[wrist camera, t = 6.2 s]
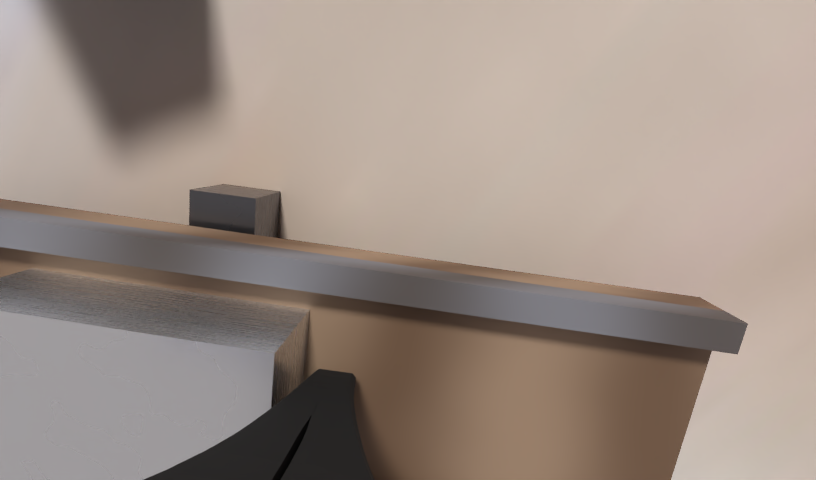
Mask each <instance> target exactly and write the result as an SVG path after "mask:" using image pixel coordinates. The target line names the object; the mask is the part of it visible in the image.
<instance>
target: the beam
mask: <svg viewBox="0 0 816 480" xmlns="http://www.w3.org/2000/svg"><path fill="white" fill-rule="evenodd" d="M32 268H35V269H42V270H49V271H55V272H62V273H69V274H75V275H82V276H89V277H95V278H102V279H109V280H115V281H122V282H129V283H135V284H142V285H149V286H155V287H162V288H169V289H175V290H182V291H189V292H195V293H202V294H209V295H215V296H222V297H229V298H235V299H242V300H249V301H255V302H262V303H269V304H275V305H282V306H289V307H295V308H302V309H309V310H310V313H309V325H308V337H307V349H306V361H305V373H304V381H305V380H306V379H307V378H308V377H309V376H310V375H312V374H313V373H314V372H315V371H316V370H318V369H325V370H332V371H340V372H347V373H353V375H354V376H355V377H356V382H355V390H354V407H355V414H356V420H357V425H358V430H359V434H360V438H361V442H362V446H363V449H364V452H365V455H366V458H367V461H368V464H369V467H370V469H371V472H372V475H373V477H374V479H375V480H671V477H672V474H673V471H674V468H675V464H676V461H677V458H678V455H679V452H680V449H681V446H682V442H683V439H684V436H685V433H686V430H687V427H688V424H689V420H690V417H691V414H692V411H693V408H694V405H695V402H696V398H697V395H698V392H699V389H700V386H701V383H702V380H703V376H704V373H705V370H706V367H707V364H708V361H709V358H710V354H711V351H719V352H726V353H732V354H738V352H739V349H740V346H741V343H742V340H743V337H744V334H745V331H746V328H747V325H748V324H747V323H746V322H744V321H742V320H740V319H738V318H736V317H735V316H733V315H731V314H729V313H727V312H725V311H724V310H722V309H720V308H718V307H716V306H714V305H713V304H711V303H709V302H707V301H705V300H703V299H702V298H700V297H693V296H686V295H679V294H672V293H665V292H657V291H650V290H643V289H636V288H629V287H622V286H615V285H608V284H601V283H594V282H586V281H579V280H572V279H565V278H558V277H551V276H544V275H537V274H530V273H523V272H515V271H508V270H501V269H494V268H487V267H480V266H473V265H466V264H459V263H452V262H444V261H437V260H430V259H423V258H416V257H409V256H402V255H395V254H388V253H380V252H373V251H366V250H359V249H352V248H345V247H338V246H331V245H324V244H317V243H309V242H302V241H295V240H288V239H281V238H274V237H267V236H260V235H253V234H246V233H238V232H231V231H224V230H217V229H210V228H203V227H196V226H189V225H182V224H175V223H167V222H160V221H153V220H146V219H139V218H132V217H125V216H118V215H111V214H104V213H96V212H89V211H82V210H75V209H68V208H61V207H54V206H47V205H40V204H33V203H25V202H18V201H11V200H4V199H0V277H4V276H7V275H11V274H14V273H18V272H21V271H25V270H28V269H32Z"/></svg>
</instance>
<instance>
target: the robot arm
mask: <svg viewBox="0 0 816 480" xmlns="http://www.w3.org/2000/svg"><path fill="white" fill-rule="evenodd" d="M355 382H356V377H355V376H354V375H353V373H347V372H340V371H332V370H325V369H318V370H316V371H315V372H314V373H313V374H312V375H310V376H309V377H308V378H307V379H306V380H305V381H304V382H302V383H301V384H300V385H299V386H298V387H297V388H295V389H294V390H293V391H292V392H291V393H290V394H288V395H287V396H286V397H285V398H283V399H282V400H281V401H280V402H278V403H277V404H276V405H275V406H273V407H272V408H271V409H269V410H268V411H267V412H265V413H264V414H263V415H261V416H260V417H258V418H257V419H256V420H254V421H253V422H251V423H250V424H249V425H247V426H246V427H244V428H243V429H241V430H240V431H238V432H237V433H235V434H233V435H232V436H230V437H228V438H227V439H225V440H223V441H222V442H220V443H218V444H216V445H215V446H213V447H211V448H209V449H207V450H206V451H204V452H202V453H200V454H197V455H195V456H193V457H191V458H189V459H187V460H185V461H183V462H181V463H179V464H177V465H175V466H173V467H171V468H169V469H167V470H165V471H162V472H160V473H158V474H155V475H153V476H151V477H148V478H146V479H144V480H375V479H374V477H373V475H372V472H371V469H370V467H369V464H368V461H367V458H366V455H365V452H364V449H363V446H362V442H361V438H360V434H359V430H358V425H357V420H356V414H355V407H354V390H355Z"/></svg>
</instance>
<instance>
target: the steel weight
mask: <svg viewBox="0 0 816 480" xmlns="http://www.w3.org/2000/svg"><path fill="white" fill-rule="evenodd" d="M309 313H310V310H309V309H302V308H295V307H289V306H282V305H275V304H269V303H262V302H255V301H249V300H242V299H235V298H229V297H222V296H215V295H209V294H202V293H195V292H189V291H182V290H175V289H169V288H162V287H155V286H149V285H142V284H135V283H129V282H122V281H115V280H109V279H102V278H95V277H89V276H82V275H75V274H69V273H62V272H55V271H49V270H42V269H35V268H32V269H28V270H25V271H21V272H18V273H14V274H11V275H7V276H4V277H0V480H144V479H146V478H148V477H151V476H153V475H155V474H158V473H160V472H162V471H165V470H167V469H169V468H171V467H173V466H175V465H177V464H179V463H181V462H183V461H185V460H187V459H189V458H191V457H193V456H195V455H197V454H200V453H202V452H204V451H206V450H207V449H209V448H211V447H213V446H215V445H216V444H218V443H220V442H222V441H223V440H225V439H227V438H228V437H230V436H232V435H233V434H235V433H237V432H238V431H240V430H241V429H243V428H244V427H246V426H247V425H249V424H250V423H251V422H253V421H254V420H256V419H257V418H258V417H260V416H261V415H263V414H264V413H265V412H267V411H268V410H269V409H271V408H272V407H273V406H275V405H276V404H277V403H278V402H280V401H281V400H282V399H283V398H285V397H286V396H287V395H288V394H290V393H291V392H292V391H293V390H294V389H295V388H297V387H298V386H299V385H300V384H301V383H302V382H304V373H305V361H306V349H307V337H308V325H309Z"/></svg>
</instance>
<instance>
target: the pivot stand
mask: <svg viewBox="0 0 816 480" xmlns="http://www.w3.org/2000/svg"><path fill="white" fill-rule="evenodd" d="M279 201H280V192H279V191H271V190H264V189H256V188H248V187H241V186H233V185H226V184H222V185H216V186H210V187H203V188H197V189H191V190H190V215H189V226H196V227H203V228H210V229H217V230H224V231H231V232H238V233H246V234H253V235H260V236H267V237H274V238H277V235H278V218H279Z"/></svg>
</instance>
